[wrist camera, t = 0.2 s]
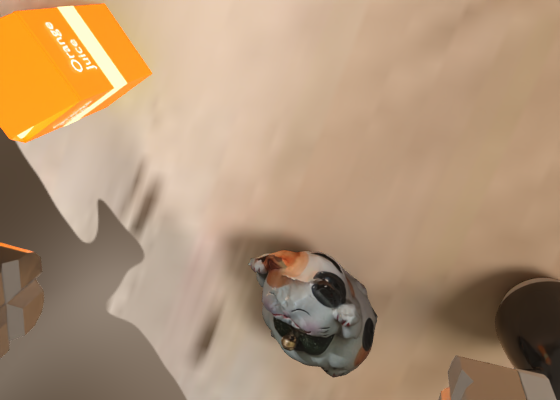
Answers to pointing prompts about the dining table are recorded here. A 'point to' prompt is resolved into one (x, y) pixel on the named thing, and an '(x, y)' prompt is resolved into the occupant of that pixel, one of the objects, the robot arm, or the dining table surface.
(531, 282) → the pump dispenser
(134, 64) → the orange juice
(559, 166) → the dining table surface
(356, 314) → the lucky cat figurine
